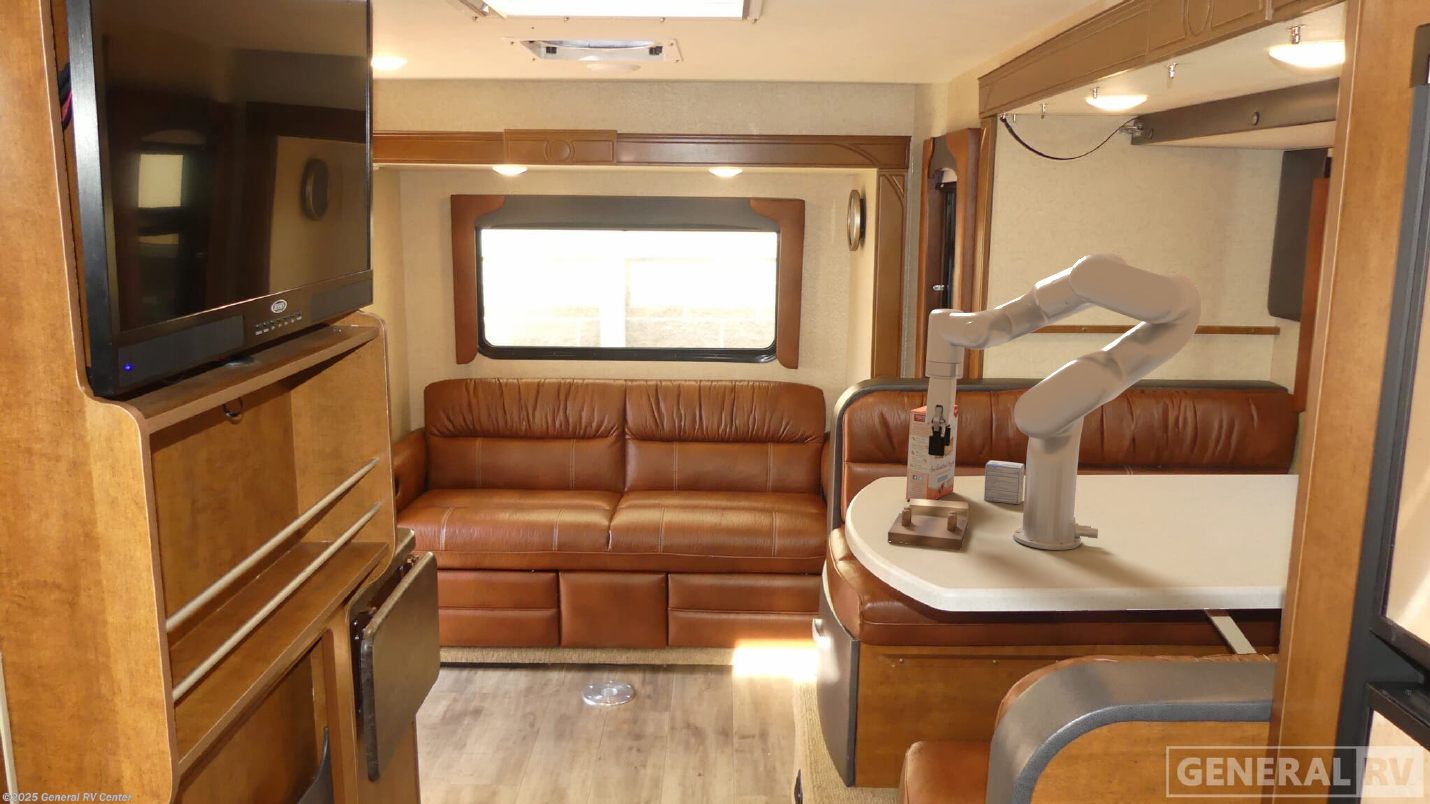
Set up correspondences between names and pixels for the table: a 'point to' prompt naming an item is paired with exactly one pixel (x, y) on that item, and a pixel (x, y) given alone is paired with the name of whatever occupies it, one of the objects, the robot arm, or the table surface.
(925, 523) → the peg board
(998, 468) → the medicine box
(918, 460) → the cracker box
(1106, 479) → the table surface
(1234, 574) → the table surface
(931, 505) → the beige wooden block
